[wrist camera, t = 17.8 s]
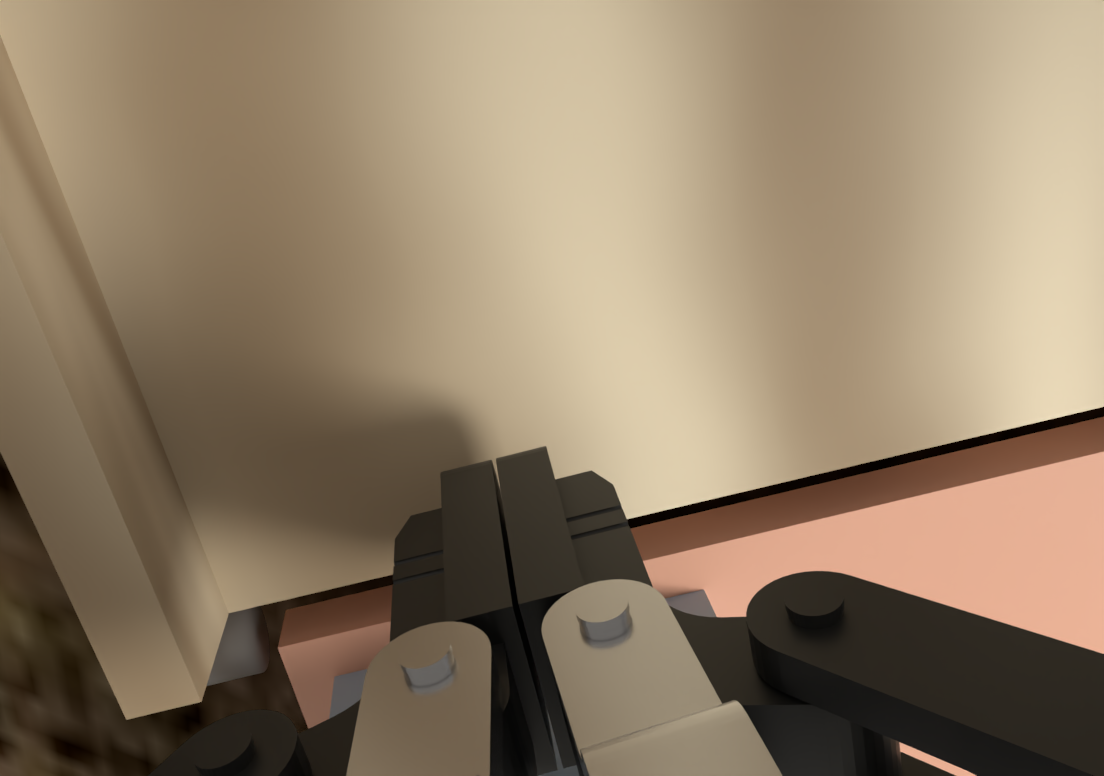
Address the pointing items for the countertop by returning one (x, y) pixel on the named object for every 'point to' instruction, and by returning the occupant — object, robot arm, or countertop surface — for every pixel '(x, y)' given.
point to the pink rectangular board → (842, 552)
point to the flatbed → (508, 269)
